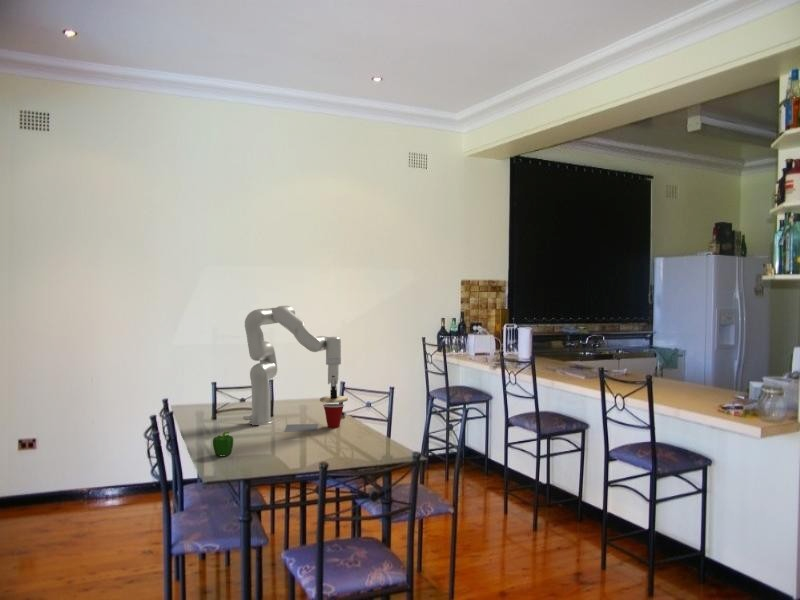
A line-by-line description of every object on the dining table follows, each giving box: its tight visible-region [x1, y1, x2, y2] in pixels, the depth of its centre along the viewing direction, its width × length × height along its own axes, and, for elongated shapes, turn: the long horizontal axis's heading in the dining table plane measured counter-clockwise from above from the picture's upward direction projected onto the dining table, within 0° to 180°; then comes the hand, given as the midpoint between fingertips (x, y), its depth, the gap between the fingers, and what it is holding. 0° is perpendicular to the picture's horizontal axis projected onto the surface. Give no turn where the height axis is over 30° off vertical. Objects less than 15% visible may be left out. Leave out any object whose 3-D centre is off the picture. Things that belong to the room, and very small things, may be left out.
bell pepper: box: [212, 430, 234, 456], centre depth 256 cm, size 8×8×10 cm
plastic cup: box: [322, 403, 345, 429], centre depth 307 cm, size 11×11×12 cm
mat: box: [283, 423, 319, 433], centre depth 304 cm, size 16×16×1 cm
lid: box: [319, 385, 349, 404], centre depth 306 cm, size 14×14×7 cm
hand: (333, 397), depth 306 cm, fingers closed on lid, 3 cm apart
